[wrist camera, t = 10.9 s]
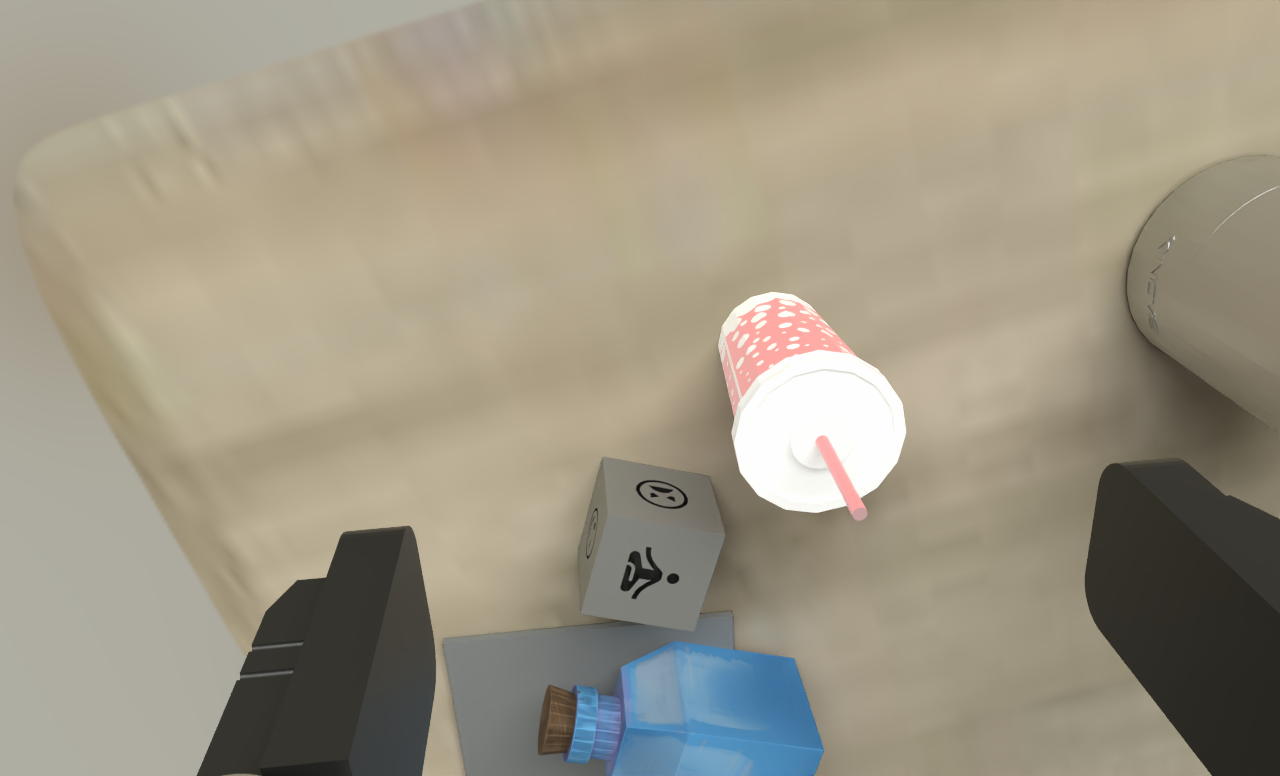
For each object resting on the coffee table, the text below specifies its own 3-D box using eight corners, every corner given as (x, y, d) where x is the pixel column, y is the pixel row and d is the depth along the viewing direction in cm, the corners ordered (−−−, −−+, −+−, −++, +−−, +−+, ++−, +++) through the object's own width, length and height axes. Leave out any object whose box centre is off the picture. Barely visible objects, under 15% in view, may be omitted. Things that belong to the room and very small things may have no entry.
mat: (731, 610, 49) (732, 616, 49) (736, 818, 55) (738, 824, 55) (443, 638, 49) (443, 643, 48) (480, 846, 55) (479, 852, 54)
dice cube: (602, 455, 45) (608, 514, 41) (709, 475, 46) (725, 535, 42) (578, 548, 47) (580, 613, 43) (680, 565, 48) (693, 631, 44)
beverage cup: (805, 422, 45) (903, 616, 33) (679, 383, 44) (729, 568, 31) (864, 300, 43) (994, 457, 30) (733, 255, 42) (811, 399, 29)
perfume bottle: (783, 850, 47) (529, 821, 45) (759, 751, 53) (532, 722, 51) (824, 750, 45) (558, 715, 43) (794, 658, 50) (557, 624, 48)
